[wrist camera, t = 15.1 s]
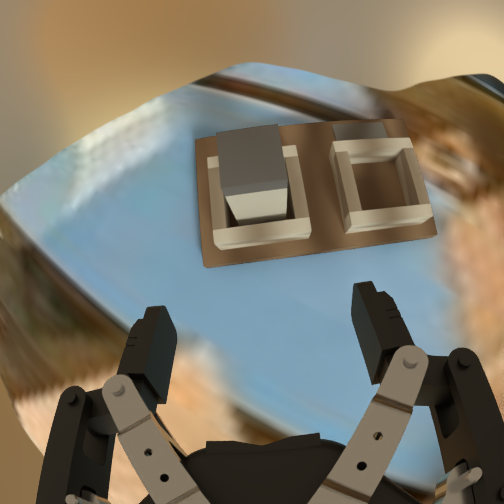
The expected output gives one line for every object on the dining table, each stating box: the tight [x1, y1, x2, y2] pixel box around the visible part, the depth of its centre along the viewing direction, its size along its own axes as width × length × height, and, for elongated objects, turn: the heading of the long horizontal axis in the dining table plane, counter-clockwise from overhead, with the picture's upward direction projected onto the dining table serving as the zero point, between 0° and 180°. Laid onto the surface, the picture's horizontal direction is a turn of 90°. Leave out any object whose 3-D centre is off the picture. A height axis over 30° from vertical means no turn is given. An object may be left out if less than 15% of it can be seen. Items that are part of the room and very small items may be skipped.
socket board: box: [195, 119, 437, 268], centre depth 29 cm, size 24×14×4 cm, turn 97°
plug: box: [216, 124, 288, 226], centre depth 25 cm, size 4×4×10 cm
